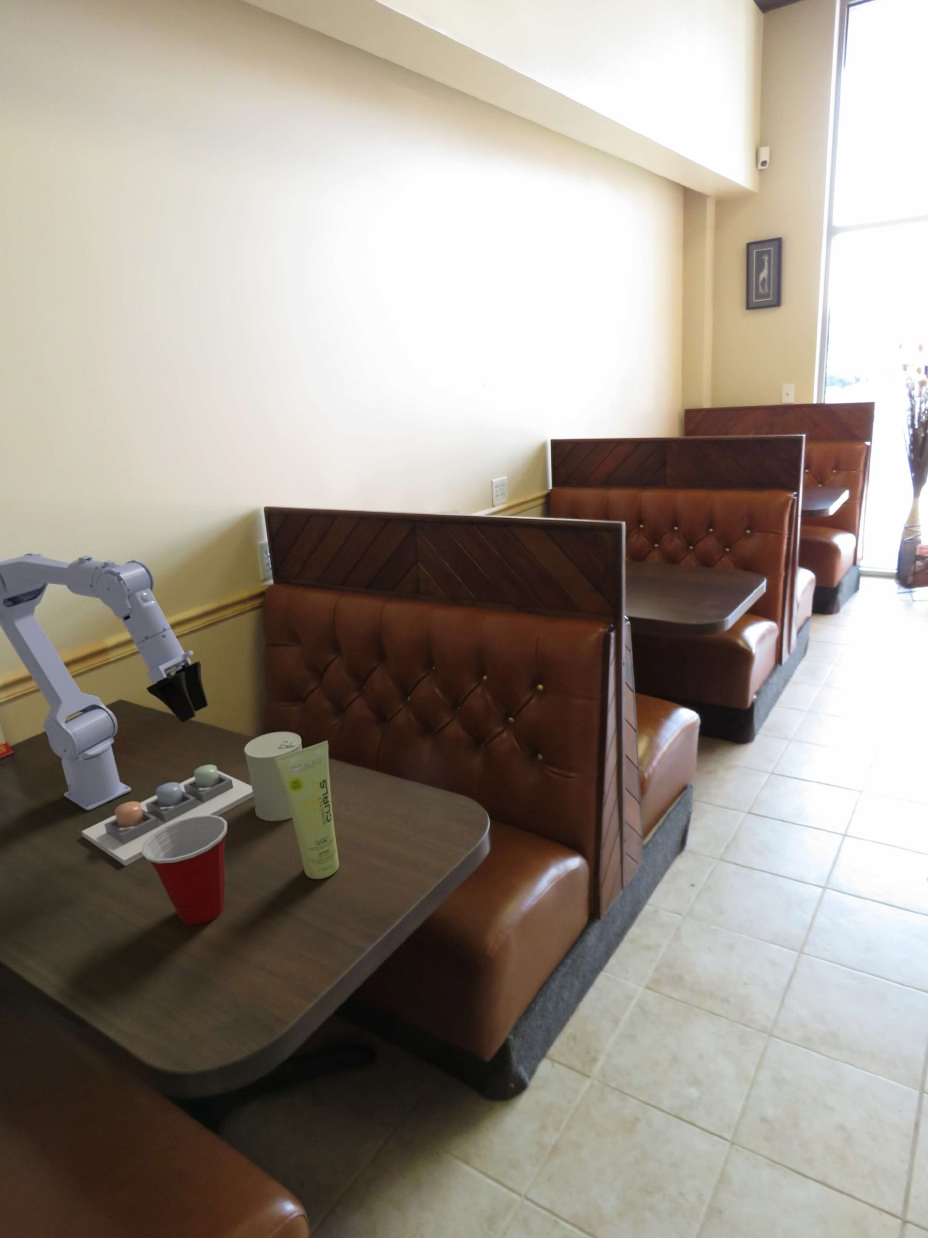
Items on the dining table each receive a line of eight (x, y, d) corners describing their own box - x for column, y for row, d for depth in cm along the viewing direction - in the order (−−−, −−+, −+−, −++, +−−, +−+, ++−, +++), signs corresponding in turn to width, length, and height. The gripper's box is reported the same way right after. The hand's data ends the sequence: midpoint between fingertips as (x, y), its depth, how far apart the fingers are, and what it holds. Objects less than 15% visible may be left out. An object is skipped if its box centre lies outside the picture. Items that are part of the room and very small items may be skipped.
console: (83, 836, 121) (79, 822, 120) (212, 772, 138) (210, 760, 137) (125, 866, 112) (121, 851, 111) (258, 794, 129) (255, 780, 129)
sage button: (191, 784, 129) (189, 772, 128) (211, 774, 132) (208, 762, 131) (204, 790, 127) (201, 778, 126) (223, 780, 129) (221, 768, 129)
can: (297, 822, 120) (286, 756, 116) (245, 820, 122) (232, 754, 118) (319, 792, 128) (309, 729, 125) (270, 790, 130) (259, 728, 127)
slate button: (154, 803, 124) (151, 790, 123) (175, 792, 127) (172, 780, 126) (166, 809, 122) (163, 796, 121) (187, 799, 124) (184, 786, 124)
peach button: (113, 823, 119) (110, 810, 118) (136, 812, 122) (132, 799, 121) (125, 830, 117) (121, 817, 116) (147, 819, 119) (144, 805, 119)
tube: (327, 885, 104) (307, 760, 98) (295, 880, 105) (274, 757, 100) (345, 860, 109) (327, 740, 103) (314, 856, 111) (295, 737, 105)
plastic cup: (213, 875, 108) (198, 802, 105) (258, 903, 101) (244, 826, 98) (143, 918, 100) (124, 841, 97) (187, 951, 94) (168, 870, 90)
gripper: (163, 630, 108) (207, 712, 110) (189, 621, 123) (228, 693, 125) (118, 651, 108) (163, 733, 110) (150, 639, 123) (190, 712, 124)
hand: (195, 713), depth 117 cm, fingers open, 7 cm apart
